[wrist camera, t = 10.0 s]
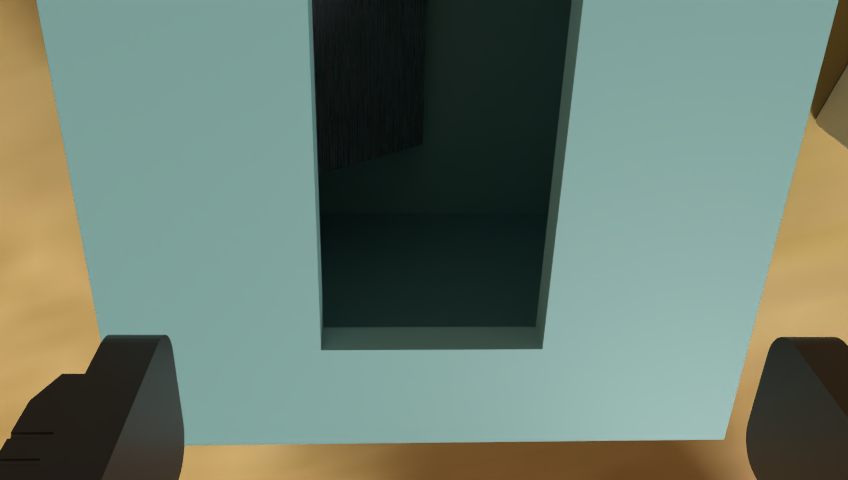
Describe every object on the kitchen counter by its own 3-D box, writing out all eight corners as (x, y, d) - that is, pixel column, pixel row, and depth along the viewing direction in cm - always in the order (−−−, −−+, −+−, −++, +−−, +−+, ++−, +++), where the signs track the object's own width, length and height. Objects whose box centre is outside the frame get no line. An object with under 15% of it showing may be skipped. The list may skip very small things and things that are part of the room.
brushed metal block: (368, -82, 27) (169, -68, 23) (428, -71, 25) (221, -54, 21) (369, 120, 30) (195, 165, 26) (422, 144, 28) (243, 196, 24)
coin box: (164, -242, 25) (-19, -284, 14) (672, -225, 26) (903, -250, 15) (212, 221, 33) (121, 446, 21) (606, 223, 33) (724, 439, 22)
